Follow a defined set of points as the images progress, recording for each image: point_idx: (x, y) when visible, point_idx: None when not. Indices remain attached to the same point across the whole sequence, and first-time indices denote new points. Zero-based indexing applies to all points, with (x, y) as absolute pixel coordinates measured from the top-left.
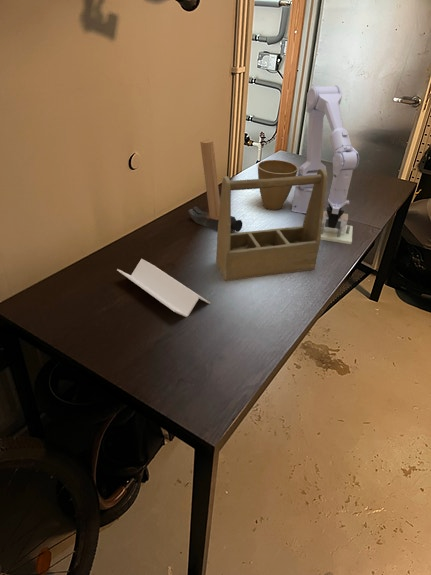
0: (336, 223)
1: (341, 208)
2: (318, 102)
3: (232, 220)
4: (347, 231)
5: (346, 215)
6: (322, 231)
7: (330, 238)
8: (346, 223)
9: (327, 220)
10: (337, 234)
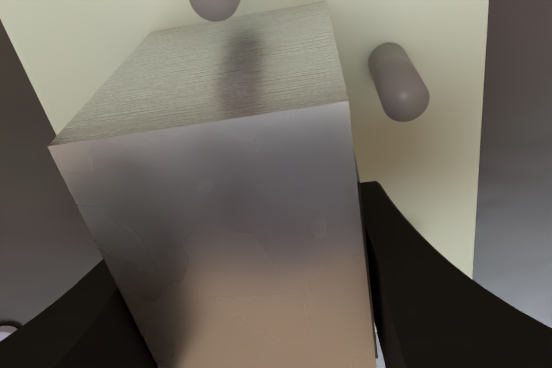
0: (404, 219)
1: (67, 353)
2: None
3: None
4: None
5: (137, 165)
6: None
7: (479, 136)
8: (341, 73)
9: (373, 332)
10: None
